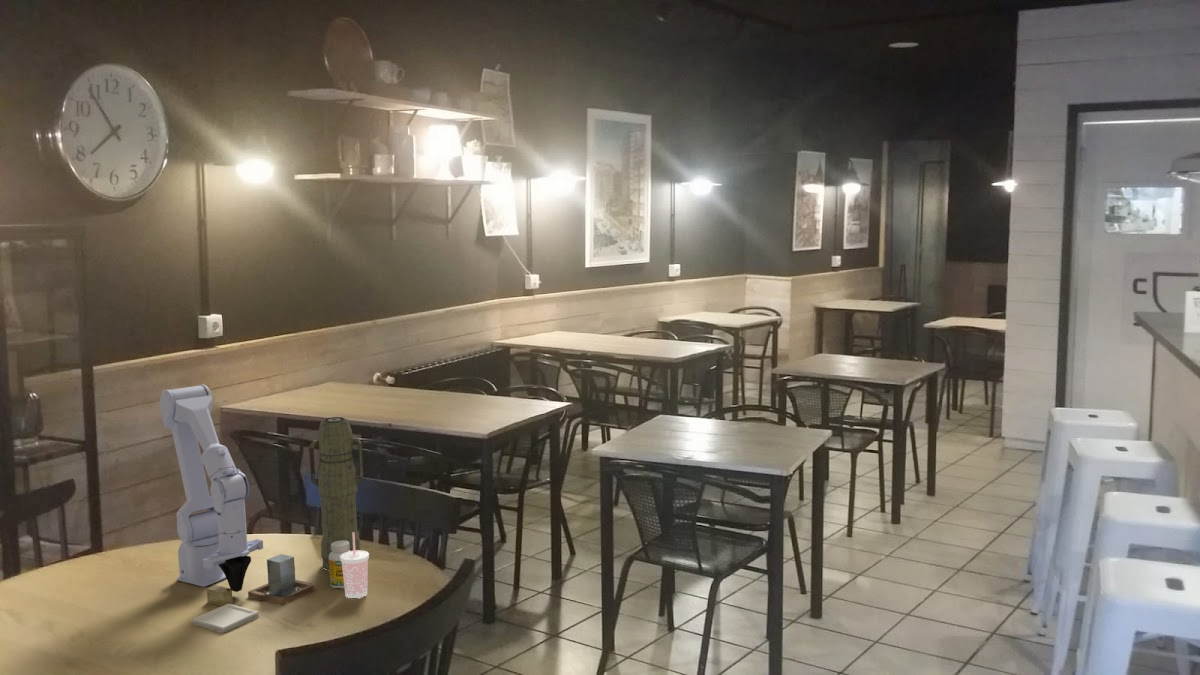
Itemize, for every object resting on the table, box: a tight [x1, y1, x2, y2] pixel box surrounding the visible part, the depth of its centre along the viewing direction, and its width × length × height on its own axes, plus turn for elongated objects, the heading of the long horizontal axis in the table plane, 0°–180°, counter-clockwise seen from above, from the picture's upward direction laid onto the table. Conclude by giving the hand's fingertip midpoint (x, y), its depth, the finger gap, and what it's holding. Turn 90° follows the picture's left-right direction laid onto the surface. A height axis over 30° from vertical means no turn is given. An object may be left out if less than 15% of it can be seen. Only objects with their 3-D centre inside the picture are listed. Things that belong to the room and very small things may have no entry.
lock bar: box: [206, 584, 233, 607], centre depth 219 cm, size 5×2×3 cm, turn 60°
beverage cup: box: [340, 532, 370, 599], centre depth 221 cm, size 6×6×14 cm
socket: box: [247, 579, 317, 606], centre depth 224 cm, size 10×10×1 cm
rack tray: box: [192, 603, 260, 634], centre depth 209 cm, size 9×9×1 cm
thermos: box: [308, 416, 364, 571], centre depth 238 cm, size 9×12×35 cm
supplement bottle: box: [328, 541, 350, 589], centre depth 228 cm, size 5×5×10 cm
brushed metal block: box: [266, 553, 297, 598], centre depth 223 cm, size 4×4×8 cm
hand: (236, 590), depth 223 cm, fingers closed
